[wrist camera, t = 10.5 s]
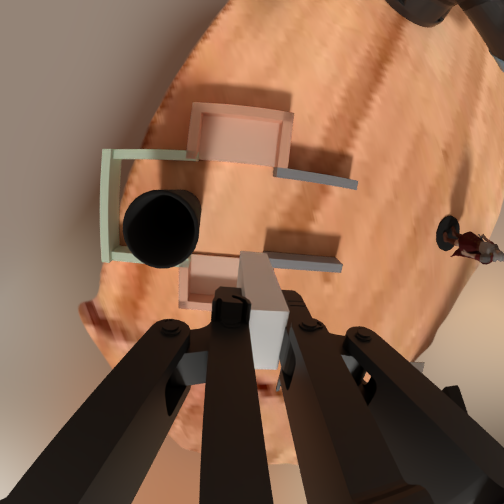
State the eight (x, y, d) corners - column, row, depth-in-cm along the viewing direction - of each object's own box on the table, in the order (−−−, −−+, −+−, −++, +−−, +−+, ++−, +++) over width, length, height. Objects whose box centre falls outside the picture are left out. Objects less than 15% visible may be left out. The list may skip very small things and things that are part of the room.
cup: (146, 222, 36) (112, 247, 25) (168, 172, 34) (139, 176, 23) (194, 246, 38) (179, 281, 26) (218, 197, 36) (213, 212, 25)
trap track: (354, 131, 34) (367, 128, 31) (323, 307, 42) (331, 320, 39) (119, 107, 31) (108, 102, 27) (115, 290, 39) (105, 302, 35)
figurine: (455, 209, 39) (515, 230, 25) (461, 243, 41) (515, 270, 27) (432, 225, 40) (494, 251, 26) (439, 259, 42) (494, 292, 28)
